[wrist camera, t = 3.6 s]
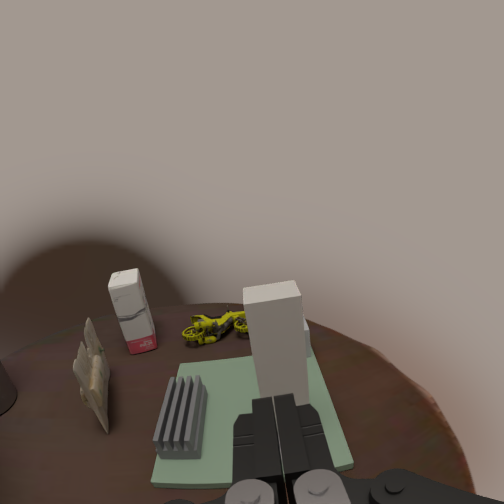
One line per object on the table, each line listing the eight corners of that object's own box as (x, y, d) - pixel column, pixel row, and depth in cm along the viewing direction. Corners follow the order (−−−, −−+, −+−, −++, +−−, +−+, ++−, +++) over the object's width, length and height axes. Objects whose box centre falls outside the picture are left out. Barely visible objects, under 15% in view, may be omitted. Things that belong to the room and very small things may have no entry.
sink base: (352, 468, 21) (357, 433, 20) (154, 487, 21) (132, 455, 20) (309, 346, 42) (306, 313, 40) (183, 363, 42) (174, 331, 40)
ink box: (158, 349, 46) (137, 281, 43) (129, 356, 45) (106, 288, 42) (155, 326, 54) (138, 266, 51) (130, 332, 53) (112, 272, 50)
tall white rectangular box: (310, 428, 25) (301, 295, 21) (267, 435, 25) (243, 304, 21) (297, 378, 33) (285, 261, 29) (262, 384, 33) (242, 267, 29)
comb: (101, 372, 41) (78, 315, 38) (115, 369, 41) (93, 311, 39) (101, 437, 27) (63, 370, 25) (120, 434, 28) (83, 366, 26)
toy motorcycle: (178, 329, 44) (182, 310, 51) (184, 351, 45) (187, 330, 52) (258, 316, 45) (252, 298, 52) (261, 339, 46) (256, 319, 53)
